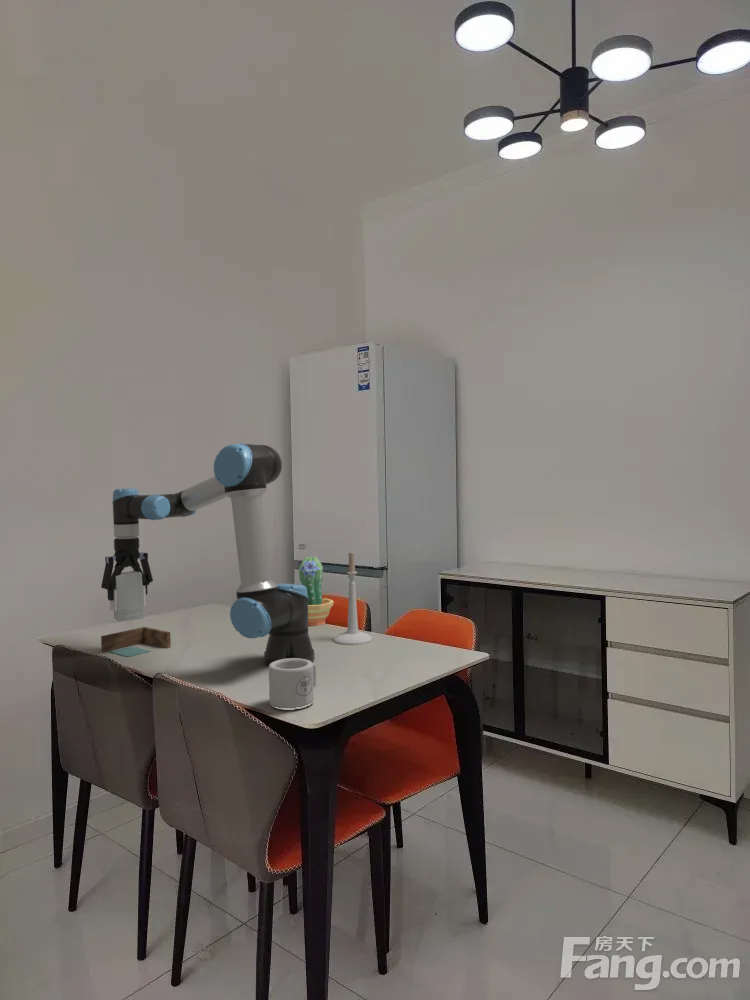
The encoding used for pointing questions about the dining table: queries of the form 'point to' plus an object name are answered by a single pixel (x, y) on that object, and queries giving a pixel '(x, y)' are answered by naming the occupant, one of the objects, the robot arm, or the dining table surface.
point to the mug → (291, 682)
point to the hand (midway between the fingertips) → (128, 607)
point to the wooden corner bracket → (135, 638)
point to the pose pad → (129, 651)
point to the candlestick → (352, 613)
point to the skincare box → (129, 596)
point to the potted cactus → (314, 590)
